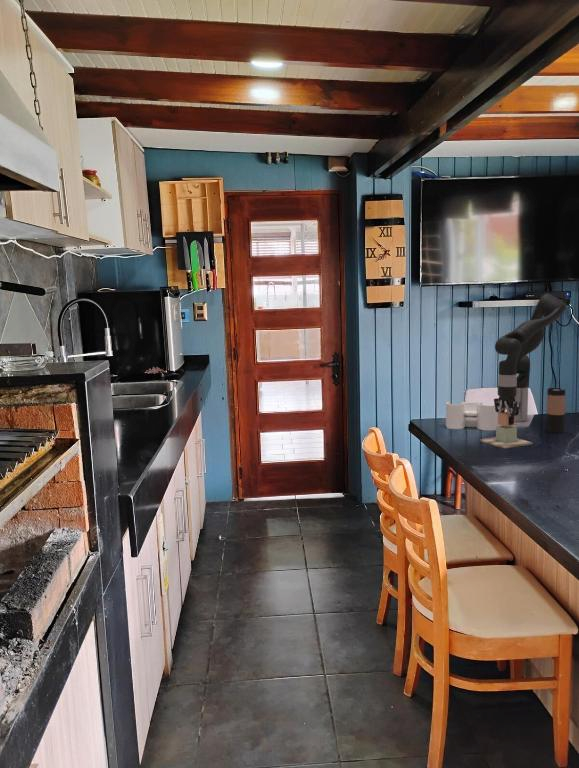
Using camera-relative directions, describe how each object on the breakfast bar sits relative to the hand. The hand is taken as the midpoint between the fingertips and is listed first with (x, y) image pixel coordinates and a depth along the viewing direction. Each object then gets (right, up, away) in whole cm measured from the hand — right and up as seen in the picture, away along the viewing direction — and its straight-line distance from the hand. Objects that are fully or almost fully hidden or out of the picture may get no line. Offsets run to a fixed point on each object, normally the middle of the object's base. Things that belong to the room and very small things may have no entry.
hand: (506, 423), depth 245 cm
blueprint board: (0, -8, +1) cm, 8 cm away
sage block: (0, -7, +1) cm, 8 cm away
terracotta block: (0, 0, 0) cm, 0 cm away
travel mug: (+29, -5, +17) cm, 34 cm away
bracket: (-4, -5, +32) cm, 32 cm away
